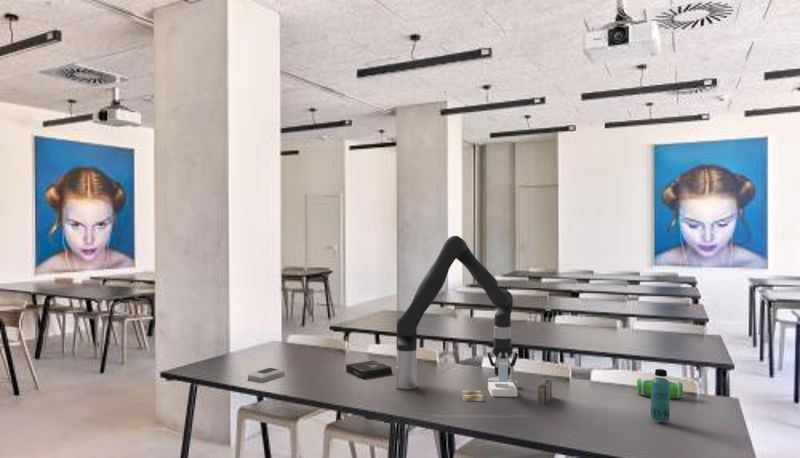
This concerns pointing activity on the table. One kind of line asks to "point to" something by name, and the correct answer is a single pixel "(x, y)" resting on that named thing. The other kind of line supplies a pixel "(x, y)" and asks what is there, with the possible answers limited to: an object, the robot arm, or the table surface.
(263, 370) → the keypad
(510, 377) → the electronic device
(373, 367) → the portable cd player
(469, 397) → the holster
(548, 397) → the marbled rust block
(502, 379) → the plug
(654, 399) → the beverage bottle
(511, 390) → the socket
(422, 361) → the table surface
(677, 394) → the speaker
